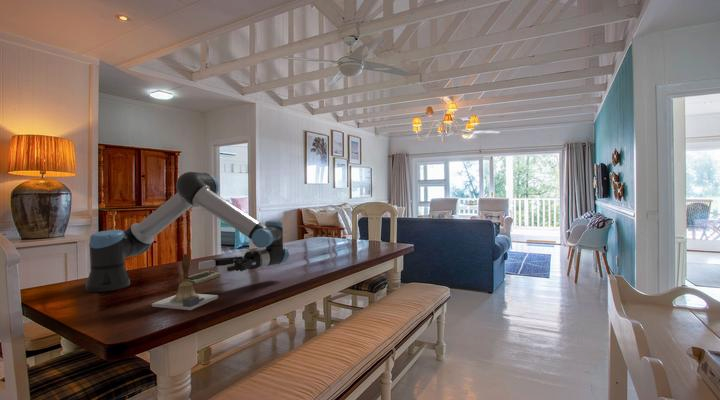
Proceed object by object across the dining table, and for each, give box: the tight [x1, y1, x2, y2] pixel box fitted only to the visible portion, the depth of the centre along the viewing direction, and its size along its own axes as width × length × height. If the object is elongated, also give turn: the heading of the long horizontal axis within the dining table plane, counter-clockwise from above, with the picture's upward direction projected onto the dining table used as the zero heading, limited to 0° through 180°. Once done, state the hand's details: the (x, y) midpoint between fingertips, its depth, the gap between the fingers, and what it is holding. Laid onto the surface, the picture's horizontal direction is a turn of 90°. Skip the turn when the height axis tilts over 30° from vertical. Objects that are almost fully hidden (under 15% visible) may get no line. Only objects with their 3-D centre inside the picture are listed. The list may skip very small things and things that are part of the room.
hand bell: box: [173, 253, 199, 302], centre depth 127 cm, size 8×8×16 cm
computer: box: [179, 269, 221, 286], centre depth 159 cm, size 16×8×3 cm, turn 161°
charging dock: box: [151, 293, 219, 311], centre depth 127 cm, size 16×14×3 cm
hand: (208, 268), depth 134 cm, fingers open, 13 cm apart
